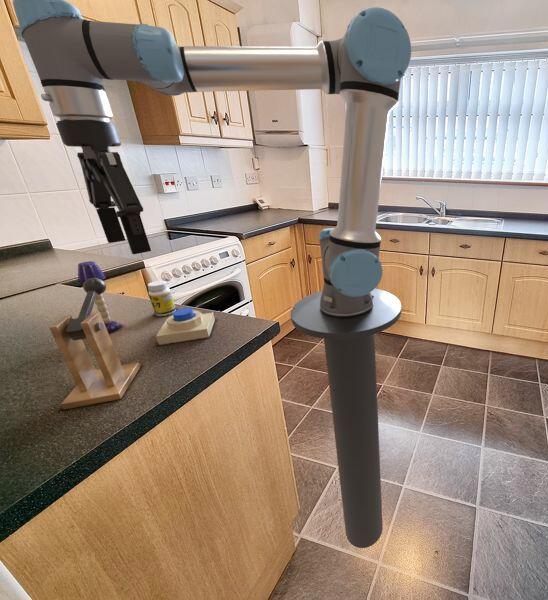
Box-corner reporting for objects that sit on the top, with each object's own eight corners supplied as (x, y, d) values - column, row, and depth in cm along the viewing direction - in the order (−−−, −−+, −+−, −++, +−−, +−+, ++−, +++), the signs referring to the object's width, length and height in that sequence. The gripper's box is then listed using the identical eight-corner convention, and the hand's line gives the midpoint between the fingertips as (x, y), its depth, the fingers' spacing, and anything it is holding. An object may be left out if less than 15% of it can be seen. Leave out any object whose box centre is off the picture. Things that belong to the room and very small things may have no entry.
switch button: (196, 313, 81) (194, 307, 80) (192, 320, 77) (190, 313, 76) (177, 316, 79) (175, 309, 79) (172, 323, 76) (170, 316, 75)
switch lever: (91, 287, 64) (81, 275, 62) (111, 285, 65) (102, 273, 63) (70, 342, 56) (59, 331, 54) (94, 339, 57) (83, 327, 55)
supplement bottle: (151, 314, 88) (141, 284, 85) (168, 307, 92) (159, 278, 89) (163, 317, 87) (153, 287, 83) (180, 310, 91) (171, 281, 87)
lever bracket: (91, 375, 64) (61, 310, 59) (140, 367, 67) (116, 304, 61) (63, 410, 56) (25, 337, 50) (120, 399, 58) (90, 328, 52)
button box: (214, 320, 85) (211, 306, 83) (209, 337, 77) (204, 321, 76) (169, 326, 82) (164, 312, 80) (158, 344, 74) (153, 329, 73)
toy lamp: (115, 323, 84) (90, 259, 77) (128, 325, 83) (104, 260, 76) (94, 332, 80) (65, 265, 73) (107, 335, 78) (80, 267, 72)
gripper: (38, 123, 59) (85, 241, 68) (75, 113, 46) (127, 263, 54) (92, 125, 65) (129, 234, 73) (139, 117, 51) (178, 252, 60)
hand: (128, 246), depth 64 cm, fingers open, 13 cm apart
